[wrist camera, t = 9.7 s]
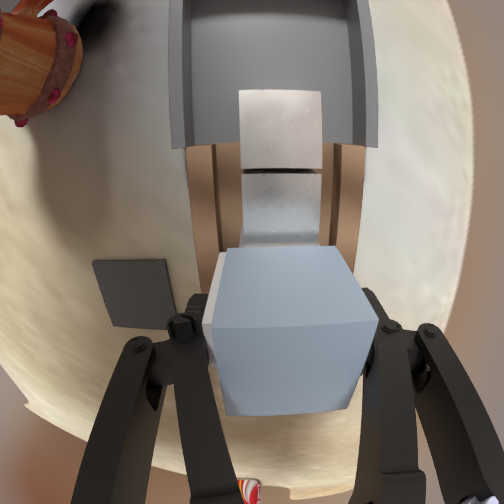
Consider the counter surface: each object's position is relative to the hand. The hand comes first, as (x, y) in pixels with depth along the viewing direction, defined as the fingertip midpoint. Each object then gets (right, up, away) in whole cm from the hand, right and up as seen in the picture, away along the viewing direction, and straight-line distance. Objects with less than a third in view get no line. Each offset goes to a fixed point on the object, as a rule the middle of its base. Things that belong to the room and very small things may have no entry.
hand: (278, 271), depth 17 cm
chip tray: (0, +14, -2) cm, 14 cm away
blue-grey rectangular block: (0, +1, +2) cm, 2 cm away
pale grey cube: (0, +9, -1) cm, 9 cm away
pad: (-12, -3, +6) cm, 13 cm away
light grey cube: (0, +5, +1) cm, 5 cm away
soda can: (-3, -50, +28) cm, 58 cm away
